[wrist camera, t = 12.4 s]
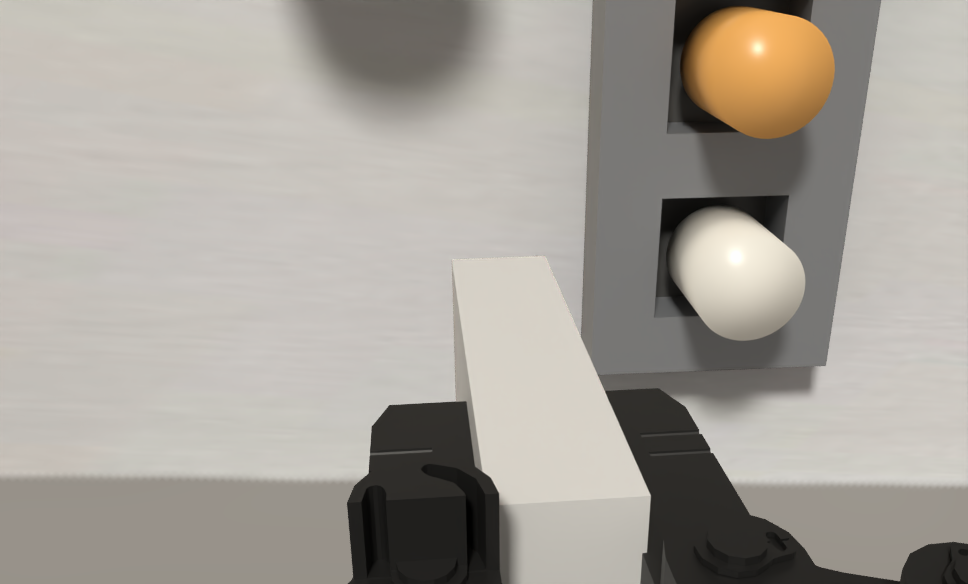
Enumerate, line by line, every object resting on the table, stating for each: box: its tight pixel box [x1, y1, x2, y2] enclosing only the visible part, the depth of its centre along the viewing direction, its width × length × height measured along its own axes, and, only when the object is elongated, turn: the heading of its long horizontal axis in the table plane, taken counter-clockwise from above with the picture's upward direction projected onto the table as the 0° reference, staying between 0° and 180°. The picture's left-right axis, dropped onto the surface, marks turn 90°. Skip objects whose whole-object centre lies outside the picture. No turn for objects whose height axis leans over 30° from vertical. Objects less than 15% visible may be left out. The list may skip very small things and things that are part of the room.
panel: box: [581, 0, 881, 375], centre depth 40 cm, size 12×30×3 cm, turn 1°
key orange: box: [680, 6, 835, 139], centre depth 37 cm, size 5×5×5 cm
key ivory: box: [666, 205, 805, 341], centre depth 40 cm, size 5×5×5 cm
